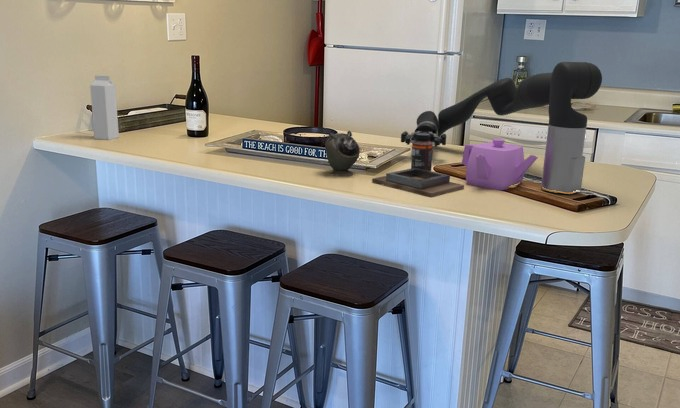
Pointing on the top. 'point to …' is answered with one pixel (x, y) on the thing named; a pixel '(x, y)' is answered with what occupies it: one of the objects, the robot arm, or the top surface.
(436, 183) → the socket collar
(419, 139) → the supplement bottle
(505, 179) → the teakettle
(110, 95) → the milk
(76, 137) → the top surface
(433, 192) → the dock board
